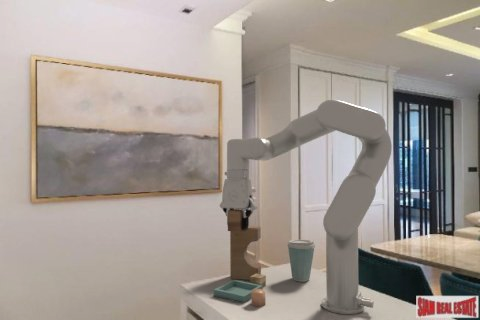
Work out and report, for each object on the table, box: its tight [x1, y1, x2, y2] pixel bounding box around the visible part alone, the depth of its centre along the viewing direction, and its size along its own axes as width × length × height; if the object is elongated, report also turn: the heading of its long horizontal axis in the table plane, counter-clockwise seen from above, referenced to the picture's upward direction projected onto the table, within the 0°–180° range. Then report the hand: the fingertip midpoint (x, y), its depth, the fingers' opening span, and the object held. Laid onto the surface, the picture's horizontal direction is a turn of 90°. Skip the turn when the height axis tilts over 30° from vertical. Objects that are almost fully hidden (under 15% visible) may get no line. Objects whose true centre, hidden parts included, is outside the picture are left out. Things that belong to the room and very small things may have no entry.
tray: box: [213, 279, 264, 304], centre depth 118 cm, size 12×12×2 cm
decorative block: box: [229, 225, 262, 281], centre depth 135 cm, size 11×6×20 cm, turn 72°
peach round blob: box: [250, 289, 266, 308], centre depth 109 cm, size 4×4×4 cm
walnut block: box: [227, 209, 248, 232], centre depth 119 cm, size 5×5×7 cm
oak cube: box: [250, 273, 267, 289], centre depth 125 cm, size 4×4×4 cm
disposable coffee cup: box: [287, 239, 316, 282], centre depth 134 cm, size 11×11×15 cm
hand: (237, 227), depth 119 cm, fingers closed on walnut block, 5 cm apart
